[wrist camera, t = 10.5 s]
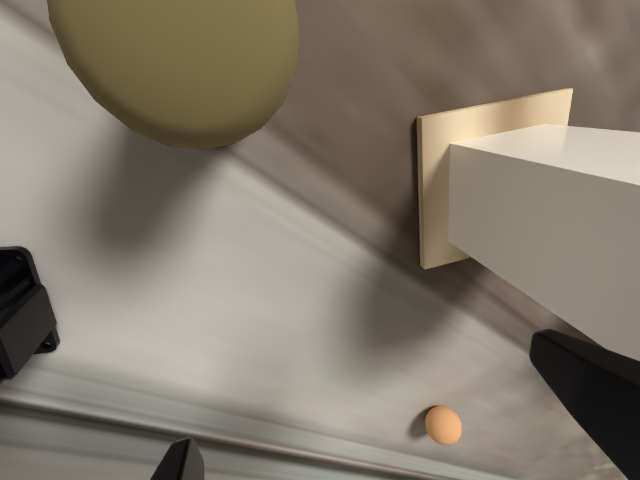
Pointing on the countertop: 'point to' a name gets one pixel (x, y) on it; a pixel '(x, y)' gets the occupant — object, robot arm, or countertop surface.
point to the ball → (443, 425)
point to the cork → (182, 63)
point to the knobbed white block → (556, 222)
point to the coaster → (457, 127)
